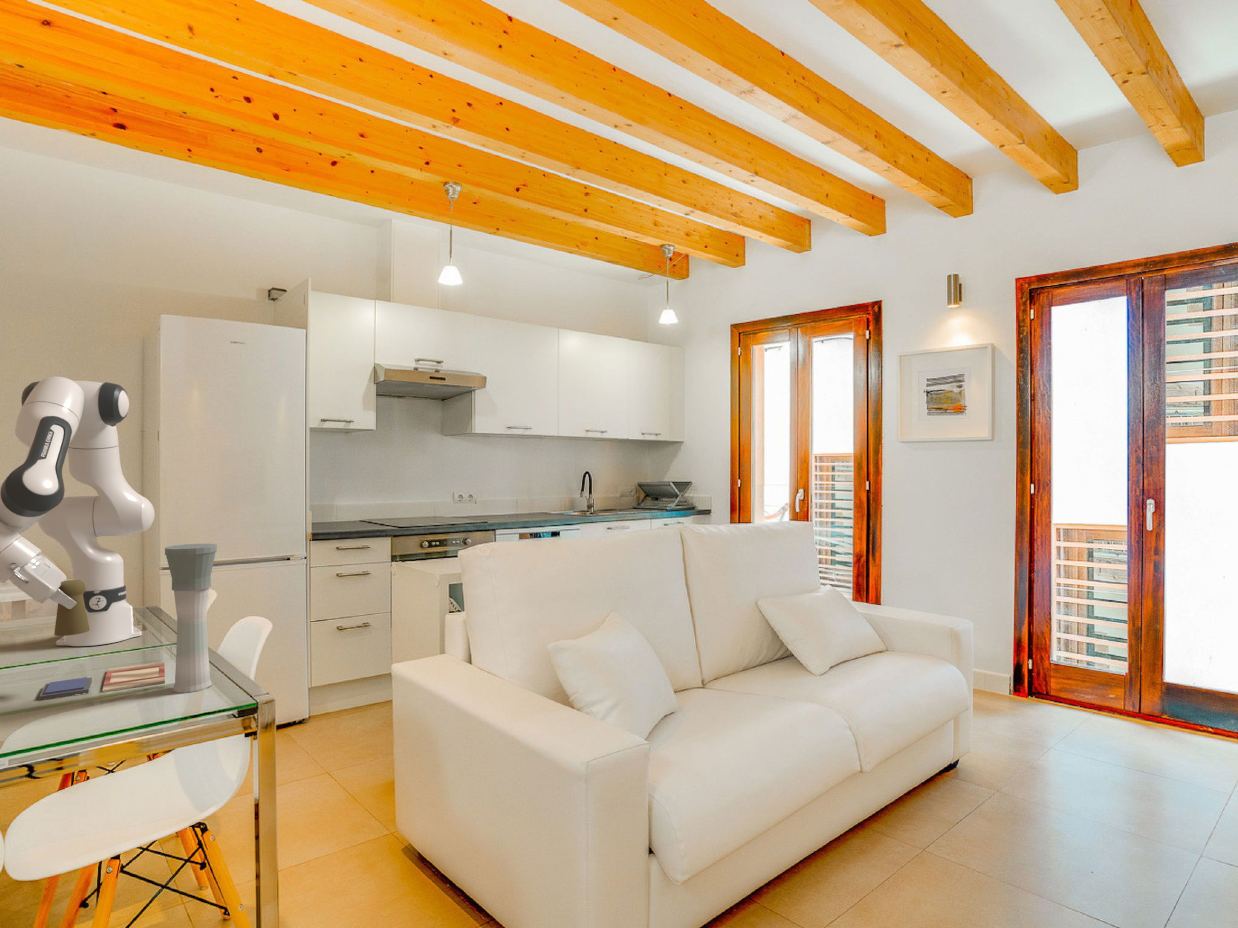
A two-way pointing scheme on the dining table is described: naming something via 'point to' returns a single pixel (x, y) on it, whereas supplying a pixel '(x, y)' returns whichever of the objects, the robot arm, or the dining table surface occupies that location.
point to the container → (191, 613)
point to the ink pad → (65, 688)
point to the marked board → (134, 676)
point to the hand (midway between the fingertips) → (75, 603)
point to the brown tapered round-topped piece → (72, 610)
